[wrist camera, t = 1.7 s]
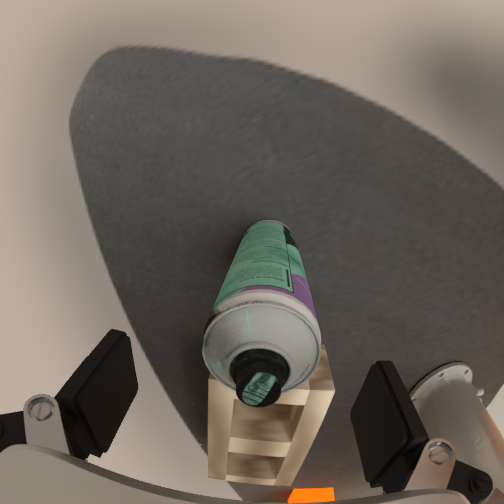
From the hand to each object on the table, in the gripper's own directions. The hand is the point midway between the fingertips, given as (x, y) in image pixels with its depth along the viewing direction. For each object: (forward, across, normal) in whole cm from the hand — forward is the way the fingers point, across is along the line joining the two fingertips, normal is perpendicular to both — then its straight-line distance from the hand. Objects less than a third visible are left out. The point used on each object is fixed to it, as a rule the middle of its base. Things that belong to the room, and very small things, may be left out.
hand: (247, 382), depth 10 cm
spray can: (+20, -1, 0) cm, 20 cm away
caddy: (+19, -3, +22) cm, 30 cm away
